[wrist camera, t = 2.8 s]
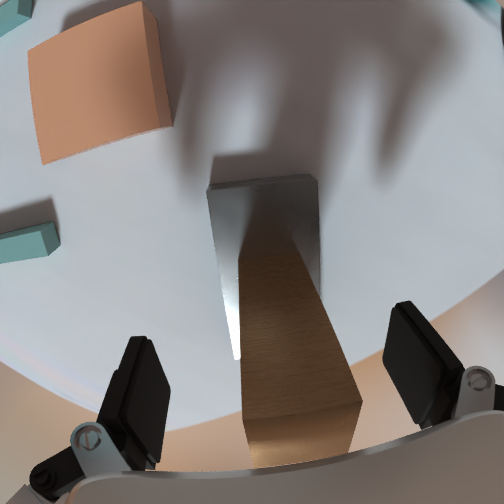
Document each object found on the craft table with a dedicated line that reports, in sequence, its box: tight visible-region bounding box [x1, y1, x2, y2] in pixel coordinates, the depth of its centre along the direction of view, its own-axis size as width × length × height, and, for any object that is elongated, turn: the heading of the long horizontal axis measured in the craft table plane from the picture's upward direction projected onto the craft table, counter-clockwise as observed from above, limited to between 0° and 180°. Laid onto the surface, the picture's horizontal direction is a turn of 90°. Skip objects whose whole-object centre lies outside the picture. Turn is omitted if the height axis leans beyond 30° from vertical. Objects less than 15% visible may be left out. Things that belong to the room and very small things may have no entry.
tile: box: [28, 1, 173, 165], centre depth 11 cm, size 6×6×3 cm
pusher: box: [206, 174, 363, 468], centre depth 12 cm, size 10×5×11 cm, turn 6°
